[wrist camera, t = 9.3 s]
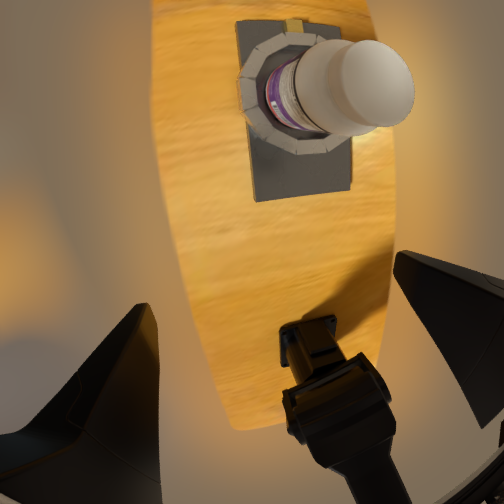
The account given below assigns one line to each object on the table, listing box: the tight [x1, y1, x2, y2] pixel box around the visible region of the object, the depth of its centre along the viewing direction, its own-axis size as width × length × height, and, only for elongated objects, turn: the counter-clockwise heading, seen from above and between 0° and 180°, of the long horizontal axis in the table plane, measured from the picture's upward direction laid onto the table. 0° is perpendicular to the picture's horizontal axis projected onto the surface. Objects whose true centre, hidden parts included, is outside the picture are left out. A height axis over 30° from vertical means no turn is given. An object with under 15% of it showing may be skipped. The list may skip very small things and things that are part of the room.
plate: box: [235, 21, 350, 202], centre depth 18 cm, size 14×8×1 cm, turn 6°
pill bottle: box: [266, 39, 415, 136], centre depth 13 cm, size 5×5×10 cm
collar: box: [236, 19, 351, 155], centre depth 16 cm, size 10×9×2 cm
